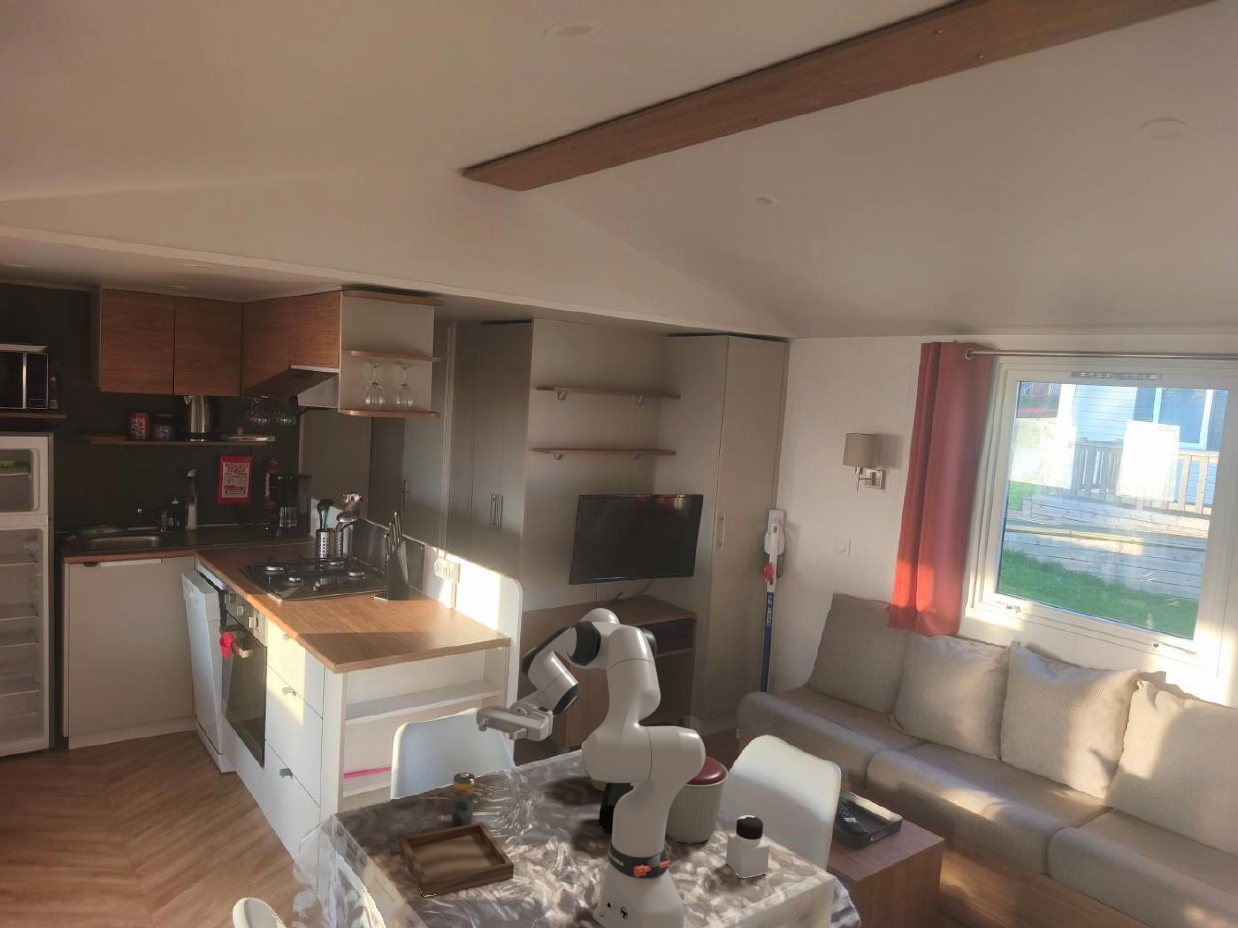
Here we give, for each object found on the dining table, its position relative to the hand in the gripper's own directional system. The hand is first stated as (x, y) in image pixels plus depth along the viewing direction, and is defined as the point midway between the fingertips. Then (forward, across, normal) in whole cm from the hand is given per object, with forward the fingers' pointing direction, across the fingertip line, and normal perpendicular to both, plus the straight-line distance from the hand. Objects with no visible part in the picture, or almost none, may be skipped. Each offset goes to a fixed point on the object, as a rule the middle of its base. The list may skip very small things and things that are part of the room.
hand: (495, 732), depth 220 cm
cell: (+13, 0, +19) cm, 23 cm away
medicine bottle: (-6, +66, +19) cm, 69 cm away
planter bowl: (-26, +21, +19) cm, 38 cm away
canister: (-14, +49, +19) cm, 54 cm away
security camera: (-6, +33, +19) cm, 38 cm away
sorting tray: (+28, +9, +19) cm, 35 cm away
